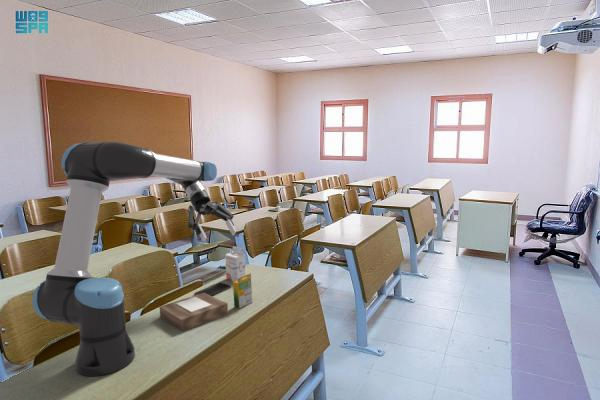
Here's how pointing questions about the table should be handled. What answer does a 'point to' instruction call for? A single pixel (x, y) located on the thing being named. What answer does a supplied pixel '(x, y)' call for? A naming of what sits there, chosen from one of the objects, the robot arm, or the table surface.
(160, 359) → the table surface
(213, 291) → the phone
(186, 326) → the brown wooden flat block
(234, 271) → the ink cartridge box
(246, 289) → the crayon box
